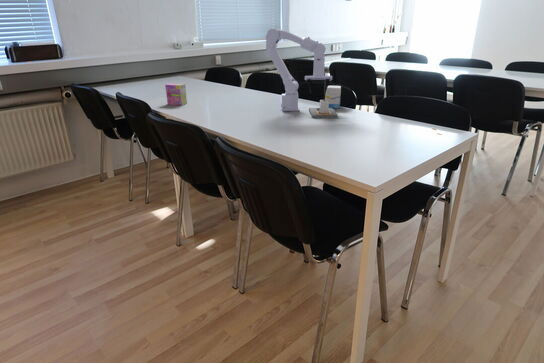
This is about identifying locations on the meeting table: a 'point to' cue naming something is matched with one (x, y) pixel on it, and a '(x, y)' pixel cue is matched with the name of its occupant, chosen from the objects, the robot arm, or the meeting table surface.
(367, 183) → the meeting table surface
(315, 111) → the socket board
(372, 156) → the meeting table surface
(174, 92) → the box
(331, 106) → the ink box
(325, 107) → the steel peg
